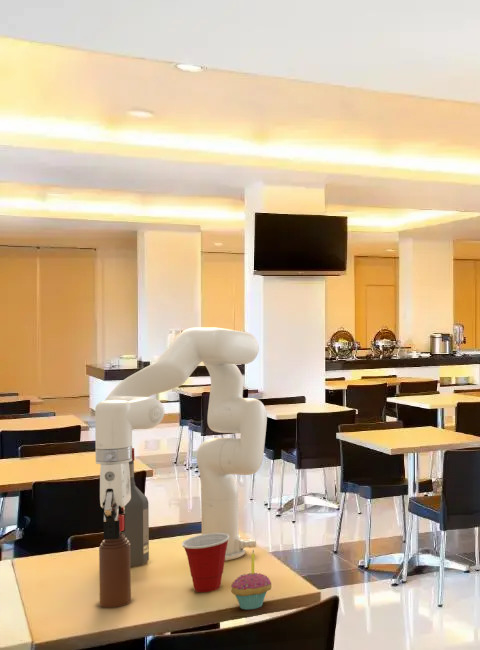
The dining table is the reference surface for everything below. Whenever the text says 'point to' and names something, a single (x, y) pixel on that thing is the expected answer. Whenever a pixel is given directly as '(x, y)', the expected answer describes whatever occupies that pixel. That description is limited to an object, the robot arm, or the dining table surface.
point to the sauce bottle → (115, 572)
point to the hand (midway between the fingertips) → (114, 534)
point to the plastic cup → (206, 560)
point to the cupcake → (251, 588)
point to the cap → (121, 522)
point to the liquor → (137, 522)
